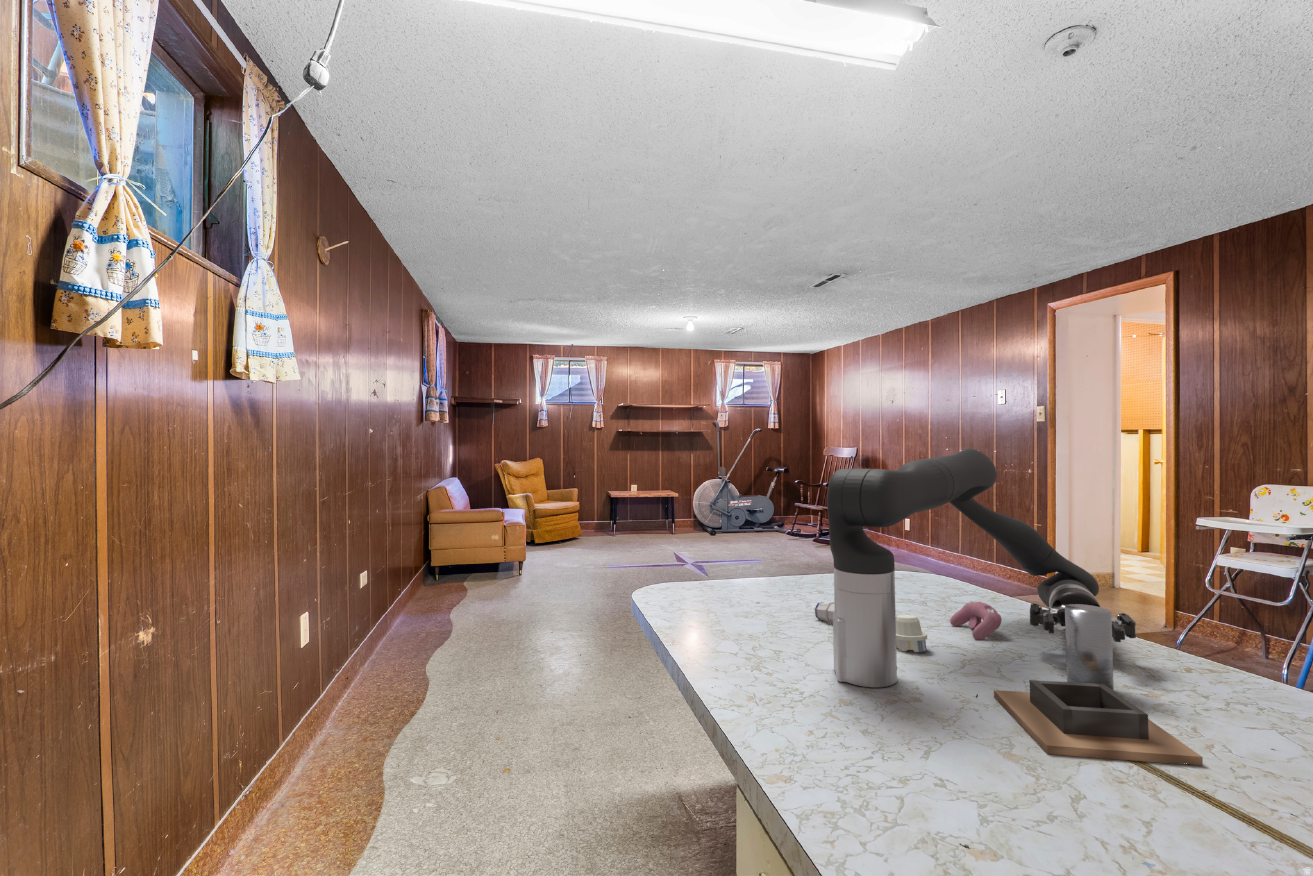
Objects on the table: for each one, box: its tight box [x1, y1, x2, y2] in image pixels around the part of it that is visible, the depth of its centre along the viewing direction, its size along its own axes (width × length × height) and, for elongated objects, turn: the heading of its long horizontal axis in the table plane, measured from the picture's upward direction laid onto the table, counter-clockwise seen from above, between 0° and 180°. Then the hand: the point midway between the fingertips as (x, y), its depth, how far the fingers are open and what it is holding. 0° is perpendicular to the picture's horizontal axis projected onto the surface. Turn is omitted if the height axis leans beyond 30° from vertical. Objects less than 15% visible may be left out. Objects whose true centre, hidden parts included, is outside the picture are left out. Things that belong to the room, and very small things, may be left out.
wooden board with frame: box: [993, 679, 1204, 766], centre depth 75 cm, size 16×16×4 cm
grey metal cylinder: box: [1065, 604, 1115, 691], centre depth 86 cm, size 6×6×12 cm
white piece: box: [814, 601, 928, 653], centre depth 113 cm, size 5×7×25 cm
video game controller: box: [949, 600, 1003, 641], centre depth 114 cm, size 10×5×7 cm, turn 0°
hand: (1084, 631), depth 92 cm, fingers open, 8 cm apart
